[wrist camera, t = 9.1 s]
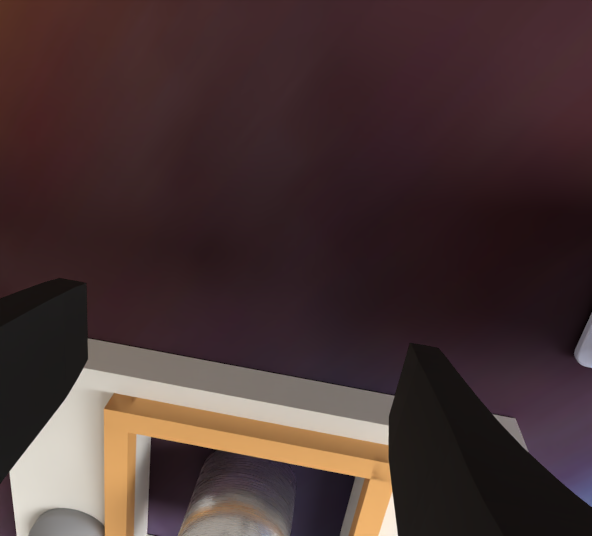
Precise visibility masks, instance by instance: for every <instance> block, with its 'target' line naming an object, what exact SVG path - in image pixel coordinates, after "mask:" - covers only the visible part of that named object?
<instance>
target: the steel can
mask: <svg viewBox="0 0 592 536" xmlns="http://www.w3.org/2000/svg"><path fill="white" fill-rule="evenodd" d="M296 489H297V483H296V478H295V475H294V473H293V471H292V469H291V468H290V466H289V465H288V464H287V463H284V462H279V461H274V460H269V459H263V458H258V457H253V456H248V455H243V454H237V453H232V452H227V451H222V450H216V451H215V452H213V453H212V454H211V455H210V456H209V457H208V458H207V459H206V460H205V462H204V464H203V466H202V469H201V471H200V474H199V477H198V480H197V483H196V486H195V489H194V491H193V494H192V497H191V500H190V503H189V506H188V509H187V511H186V514H185V517H184V520H183V523H182V526H181V528H180V531H179V534H178V536H290V534H291V527H292V519H293V511H294V504H295V496H296Z"/></svg>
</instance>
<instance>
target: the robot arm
mask: <svg viewBox="0 0 592 536" xmlns="http://www.w3.org/2000/svg"><path fill="white" fill-rule="evenodd" d="M574 355H575V358H576V360H577V361H578V363H579V364H581V365H582V366H585V367H590V368H592V313H591V315H590V317H589V320H588V322H587V324H586V326H585V329H584V331H583V333H582V335H581V337H580V340H579V342H578V344H577V346H576V348H575V352H574ZM87 361H88V331H87V289H86V283H83V282H78V281H73V280H67V279H62V278H58V279H54V280H51V281H47V282H44V283H41V284H38V285H36V286H33V287H30V288H27V289H24V290H22V291H19V292H16V293H14V294H11V295H8V296H6V297H3V298H0V484H1V482H2V481H3V479H4V478H5V477H6V475H7V474H8V473H9V471H10V470H11V469H12V468H13V466H14V465H15V464H16V462H17V461H18V460H19V459H20V457H21V456H22V455H23V453H24V452H25V451H26V450H27V448H28V447H29V446H30V444H31V443H32V442H33V441H34V439H35V438H36V437H37V435H38V434H39V433H40V432H41V430H42V429H43V428H44V426H45V425H46V424H47V423H48V421H49V420H50V419H51V417H52V416H53V415H54V413H55V412H56V411H57V409H58V408H59V407H60V405H61V404H62V403H63V401H64V400H65V399H66V397H67V396H68V394H69V393H70V391H71V389H72V387H73V386H74V384H75V382H76V381H77V379H78V377H79V375H80V373H81V372H82V370H83V368H84V366H85V364H86V362H87ZM388 458H389V467H390V476H391V484H392V493H393V501H394V509H395V516H396V525H397V533H398V536H592V507H591V506H589V505H588V504H587V503H585V502H584V501H583V500H582V499H580V498H579V497H578V496H577V495H575V494H574V493H573V492H572V491H571V490H569V489H568V488H567V487H566V486H565V485H563V484H562V483H561V482H560V481H559V480H558V479H557V478H556V477H555V476H553V475H552V474H551V473H550V472H549V471H548V470H547V469H546V468H545V467H544V466H542V465H541V464H540V463H539V462H538V461H537V460H536V459H535V458H534V457H533V456H532V455H531V454H530V453H529V452H528V451H526V450H525V449H524V448H523V447H522V446H521V445H520V443H519V442H518V441H517V440H516V439H515V438H514V437H513V436H512V435H511V434H510V433H509V432H508V431H507V430H506V429H505V428H504V427H503V426H502V424H501V423H500V422H499V421H498V420H497V419H496V418H495V417H494V416H493V414H492V413H491V412H490V411H489V410H488V409H487V407H486V406H485V405H484V404H483V403H482V402H481V400H480V399H479V398H478V397H477V396H476V394H475V393H474V392H473V391H472V389H471V388H470V387H469V386H468V385H467V383H466V382H465V381H464V380H463V378H462V377H461V376H460V374H459V373H458V372H457V371H456V369H455V368H454V367H453V366H452V364H451V363H450V362H449V360H448V359H447V358H446V357H445V355H444V354H443V353H442V352H441V351H440V350H439V348H436V347H430V346H425V345H419V344H414V343H410V345H409V348H408V352H407V355H406V359H405V362H404V365H403V369H402V372H401V376H400V379H399V383H398V386H397V390H396V393H395V397H394V400H393V403H392V407H391V410H390V414H389V436H388Z"/></svg>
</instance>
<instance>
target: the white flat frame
mask: <svg viewBox="0 0 592 536" xmlns="http://www.w3.org/2000/svg"><path fill="white" fill-rule="evenodd" d="M394 397H395V396H393V395H388V394H382V393H377V392H372V391H366V390H361V389H356V388H350V387H345V386H340V385H334V384H329V383H324V382H318V381H313V380H308V379H302V378H297V377H292V376H286V375H281V374H276V373H270V372H265V371H260V370H254V369H249V368H244V367H238V366H233V365H228V364H222V363H217V362H212V361H206V360H201V359H196V358H190V357H185V356H180V355H174V354H169V353H164V352H158V351H153V350H148V349H142V348H137V347H132V346H126V345H121V344H116V343H110V342H105V341H100V340H94V339H89V338H88V361H87V362H86V364H85V366H84V368H83V370H82V372H81V373H80V375H79V377H78V379H77V381H76V382H75V384H74V386H73V387H72V389H71V391H70V393H69V394H68V396H67V397H66V399H65V400H64V401H63V403H62V404H61V405H60V407H59V408H58V409H57V411H56V412H55V413H54V415H53V416H52V417H51V419H50V420H49V421H48V423H47V424H46V425H45V426H44V428H43V429H42V430H41V432H40V433H39V434H38V435H37V437H36V438H35V439H34V441H33V442H32V443H31V444H30V446H29V447H28V448H27V450H26V451H25V452H24V453H23V455H22V456H21V457H20V459H19V460H18V461H17V462H16V464H15V465H14V466H13V468H12V469H11V470H10V471H9V472H10V481H11V489H12V498H13V507H14V516H15V525H16V533H17V536H153V535H148V534H147V522H148V498H149V474H150V450H151V437H154V438H160V439H165V440H170V441H175V442H180V443H186V444H191V445H196V446H201V447H206V448H211V449H217V450H222V451H227V452H232V453H237V454H243V455H248V456H253V457H258V458H263V459H269V460H274V461H279V462H284V463H289V464H295V465H300V466H305V467H310V468H315V469H320V470H326V471H331V472H336V473H341V474H346V475H352V476H356V477H355V480H354V484H353V488H352V491H351V495H350V499H349V502H348V506H347V510H346V513H345V517H344V521H343V524H342V528H341V532H340V536H398V533H397V525H396V516H395V509H394V501H393V493H392V484H391V476H390V467H389V458H388V436H389V414H390V410H391V407H392V403H393V400H394ZM493 416H494V417H495V418H496V419H497V420H498V421H499V422H500V423H501V424H502V426H503V427H504V428H505V429H506V430H507V431H508V432H509V433H510V434H511V435H512V436H513V437H514V438H515V439H516V440H517V441H518V442H519V443H520V445H521V446H522V447H523V448H524V449H525V450H526V451H528V450H527V447H526V444H525V442H524V439H523V437H522V434H521V432H520V429H519V427H518V424H517V422H516V419H515V418H510V417H505V416H499V415H494V414H493Z"/></svg>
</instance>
